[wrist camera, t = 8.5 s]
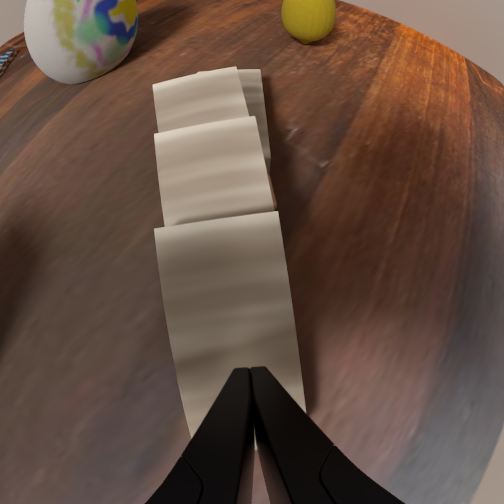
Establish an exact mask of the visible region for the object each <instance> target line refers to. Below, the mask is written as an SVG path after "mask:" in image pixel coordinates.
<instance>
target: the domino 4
mask: <svg viewBox="0 0 504 504" xmlns="http://www.w3.org/2000/svg"><path fill="white" fill-rule="evenodd" d="M203 72H208V71H203ZM203 72H197V74H198V73H203ZM237 72H238V75H239V79H240V83H241V87H242V90H243V94H244V98H245V102H246V105H247V109H248V113H249V117H251V116H255V118H256V122H257V127H258V132H259V136H260V141H261V146H262V151H263V155H264V160H265V165H266V170H267V175H269V173H270V162H271V154H270V145H269V137H268V128H267V120H266V111H265V103H264V95H263V87H262V79H261V72H260V69H249V70H237Z"/></svg>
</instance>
